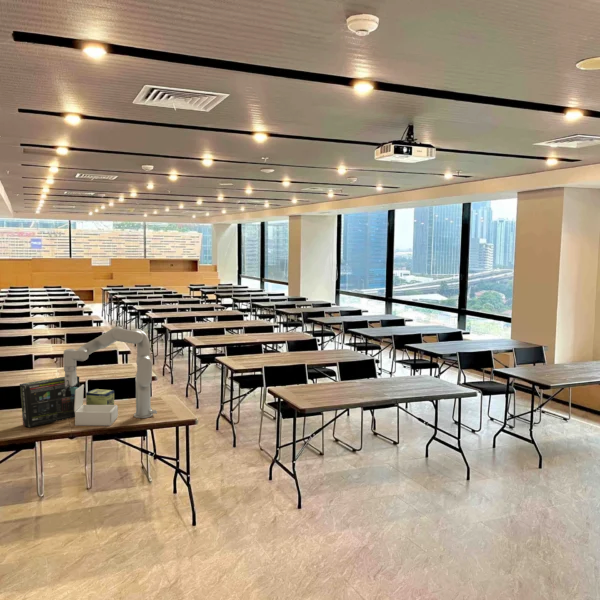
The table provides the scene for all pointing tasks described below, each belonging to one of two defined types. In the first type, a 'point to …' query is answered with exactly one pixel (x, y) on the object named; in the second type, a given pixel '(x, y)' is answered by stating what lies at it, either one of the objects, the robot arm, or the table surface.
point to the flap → (78, 396)
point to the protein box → (100, 397)
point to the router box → (46, 401)
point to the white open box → (96, 415)
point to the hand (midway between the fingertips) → (70, 394)
